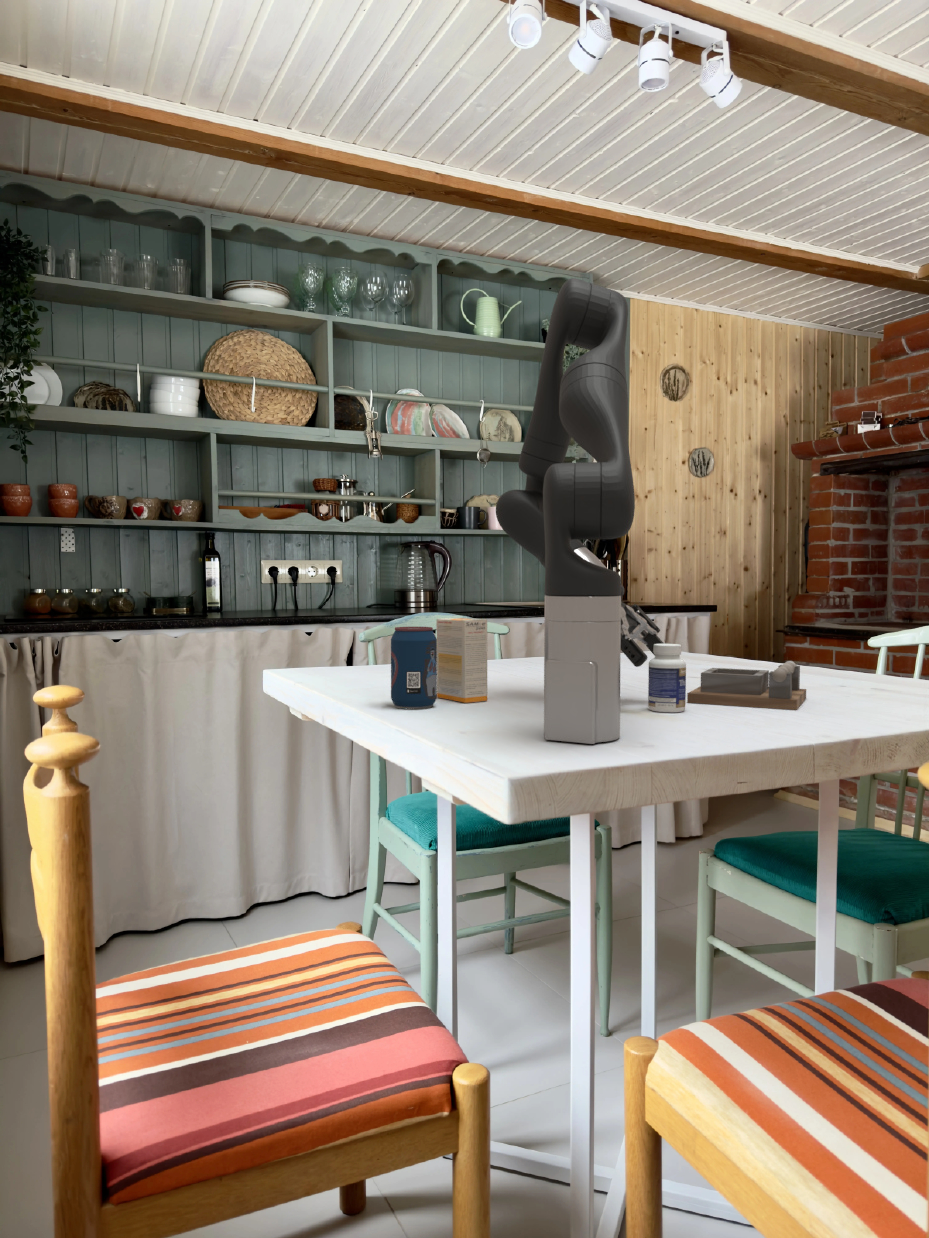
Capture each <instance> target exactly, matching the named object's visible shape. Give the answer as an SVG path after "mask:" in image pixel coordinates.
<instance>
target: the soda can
mask: <svg viewBox="0 0 929 1238" xmlns="http://www.w3.org/2000/svg"><path fill="white" fill-rule="evenodd" d="M433 630H434V628H433V627H431V626H395V627H394V632H393V634H392V636H391V638H390V699H391V701H392V703H393V704H394V707H395V708H397V709H401V708H407V709H406V710H424V709H423V708H425V709H430V708H432V707H433V706H434V705H435V703H436V701H437V636H436V635H435V632H434V631H433Z"/></svg>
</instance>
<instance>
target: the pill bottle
mask: <svg viewBox="0 0 929 1238" xmlns="http://www.w3.org/2000/svg"><path fill="white" fill-rule="evenodd" d="M653 652H654V654H655V656H654V657H653V658H651V659H650V660H649V661H648V683H647V684H648V687H647V688H648V690H647V692H648V693H647V694H648V695H647V696H648V697H647V698H648V700H647V702H648V703H647V704H648V705H647V707H648V709H649V710H650V711H652V712H657V713H658V712H659V713H680V712H685V710H686V703H687V700H686V697H687V693H686V692H687V691H686V690H687V689H686V688H687V663H686V661H685V660H684V659H682V658H681V657H680V655H682V645H681V644H679V643H664V644H654V647H653ZM654 654H653V655H654Z"/></svg>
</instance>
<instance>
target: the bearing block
mask: <svg viewBox="0 0 929 1238" xmlns="http://www.w3.org/2000/svg"><path fill="white" fill-rule="evenodd" d="M800 679H801V665H797V664H796V663H795V662H794V661H793V660H787V661H786V662H783V664H780V665H778V667H777V668H776V669H774V670H771V671H769V670H768V669H767V670H765V669H749V668H748V669H747V668H745V669H742V668H723V667H711V668H709V669H706V670H703V672H700V686H699V687H697V688H695V689H693V690H691V691H689V692H687V693H686V697H687V700H686V703H687V704H699V705H701V704H702V705H703V704H704V705H715V706H730V707H732V706H733V707H743V708H744V707H747V708H758V709H759V708H761V709H776V710H789V711H798V709H799V708H800V707H801V706H802V704H803V703H804V702H805V701H806V699H807V689H806V688H800V685H801V684H800Z"/></svg>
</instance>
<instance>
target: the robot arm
mask: <svg viewBox="0 0 929 1238" xmlns="http://www.w3.org/2000/svg"><path fill="white" fill-rule="evenodd" d="M555 298H556V299H555V302H554V303H553V307H552V311H551V315H550V319H549V323H548V328H547V333H546V338H545V343H544V348H543V354H542V359H541V363H540V368H539V369H540V370H539V375H538V382H537V386H536V394H535V398H534V399H535V400H534V404H533V408H532V413H531V417H530V421H529V424H528V428H527V430H526V434H525V437H524V440H523V444H522V447H521V450H520V454H519V458H518V468H519V470H520V471H521V472H522V473H523V474H524V475H526V480H525V481H526V482H525V488H524V489H510V490H507V491H505V492H504V493H502V494H501V495H500V497H499V498H498V499H497V501H496V504H495V517H496V521H497V522H498V524H499V526H500V527H501V529H502V530H503V532H505V534H506V535H507V536H508V537H510V538H511V539H512V540H513V541H514V542H516V543H517V544H518V545H519V546H520V547H522V549H524V550H526V551H527V552H528V553H530V554H531V555H532V556H534V557H535V558H536V559H537V560H538V561H539V563H540V564H541V565H542V566H543V568H544V569H545V570H544V571H545V572H544V620H543V621H544V623H543V625H544V626H543V627H544V628H543V629H544V631H543V632H544V635H543V636H544V637H543V638H544V639H543V643H544V644H543V646H544V648H543V651H544V652H543V653H544V654H543V661H544V662H543V664H544V665H543V736H544V740H546V741H547V740H548V741H559V742H560V741H561V742H568V743H579V744H589V745H592V744H593V745H594V744H596V743H602V742H603V743H604V742H611V741H616V740H618V739H620V737H621V653H623V654H624V655H625V656H626V657H627V659H628V660H629V661H630V662H631V664H632V665H633V666H634V667H636V668H639V667H642V665H644V663H645V662H647V660H648V655H647V654H646V653H645V652H644V651H643V650H642V648H641V647H640V645H638V644H637V642H636V641H635V639H637V640H638V641H640V642H641V643H643V644H644V645H645V646H646V648H647V649H648V651H650V652H651V653H652V655H653V656H654V657H655V654H654V652H653V647H654V644H665V643H664V642H663V640H662V639H661V638H660V637H659V636H658V635H659V633H660V632H661V629H660V627H658V625H657V624H656V623H655V622H654V621H653V620H652V619H651V618H650V616H648V615H647V614H646V612H645V611H643V609H642V608H641V607H640V606H639V605H638V604H636V603H633V605H631V606H630V605H628V604H626V603H625V602H623V596H624V595H625V588H624V586H623V585H622V578H621V575H620V574H619V573H618V572H617V571H615V570H613V569H610V568H607V567H606V565H605V564H604V563H603V562H602V561H601V560H600V559H599V558H598V557H597V555H595V554H594V553H593V552H592V551H590V550H589V549H588V548H587V547H586V546H585V544H584V543H583V542H582V541H581V540H614V539H619V538H622V537H624V536H626V535H627V534H628V533H629V532H630V530H631V528H632V526H633V522H634V517H635V509H636V503H635V502H636V498H635V496H636V495H635V488H634V487H635V486H634V477H633V471H632V463H631V456H630V449H629V440H628V439H629V437H628V429H629V428H628V425H629V424H628V423H629V422H628V421H629V418H628V417H629V416H628V415H629V413H628V411H629V410H628V409H629V407H628V406H629V403H628V402H629V398H628V396H629V395H628V382H627V373H626V341H627V331H628V316H629V308H628V307H629V306H628V302H627V299H626V298H625V296H624V295H623V294H622V293H620V292H619V291H616V290H614V289H611V288H607V287H604V286H601V285H598V284H594V283H592V282H589V281H585V280H582V279H579V278H576V277H575V278H573V277H571V278H569V279H567V280H566V281H565V282H564V283H563V284H562V286H561V288H560V290H559V292H558V293H557V295H556V297H555ZM567 344H568V345H572V346H575V347H578V348H582V349H584V350H588V351H586V352H584V354H582V355H580V356H579V357H577V358H576V359H575V360H574V361H572V362H571V363H570V365H569V366H568V367H567V368H566V370H565V371H564V366H563V365H564V356H565V355H564V354H565V351H566V349H565V348H566V345H567ZM571 439H572V440H573V441H574V442H575V443H576V444H577V445H578V446H579V447H580V448H582V449H583V451H585V452H586V453H587V454H589V455H590V457H592V458H593V459H594V461H593V462H591V461H589V462H587V461H586V462H565V459H566V455H567V452H568V449H569V446H570V442H571Z"/></svg>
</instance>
